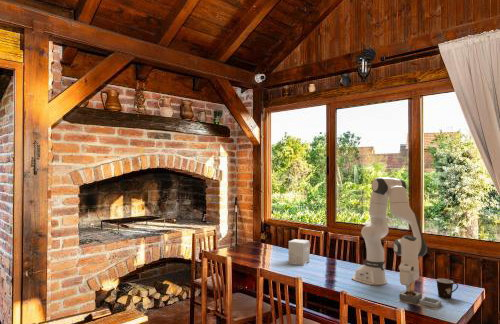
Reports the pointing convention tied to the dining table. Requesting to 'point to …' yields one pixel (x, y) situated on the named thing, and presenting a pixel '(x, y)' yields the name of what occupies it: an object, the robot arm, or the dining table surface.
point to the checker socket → (410, 297)
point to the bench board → (419, 304)
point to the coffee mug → (445, 288)
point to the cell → (411, 289)
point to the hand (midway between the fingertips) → (410, 289)
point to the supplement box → (298, 251)
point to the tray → (430, 302)
